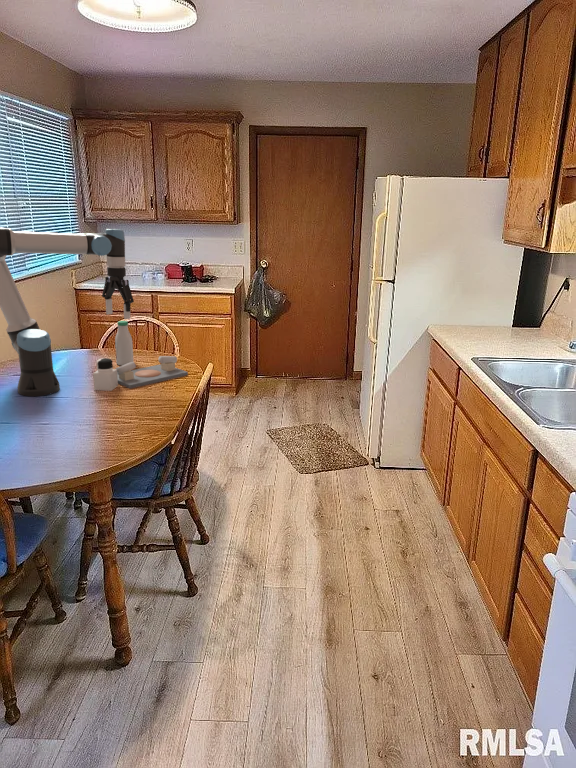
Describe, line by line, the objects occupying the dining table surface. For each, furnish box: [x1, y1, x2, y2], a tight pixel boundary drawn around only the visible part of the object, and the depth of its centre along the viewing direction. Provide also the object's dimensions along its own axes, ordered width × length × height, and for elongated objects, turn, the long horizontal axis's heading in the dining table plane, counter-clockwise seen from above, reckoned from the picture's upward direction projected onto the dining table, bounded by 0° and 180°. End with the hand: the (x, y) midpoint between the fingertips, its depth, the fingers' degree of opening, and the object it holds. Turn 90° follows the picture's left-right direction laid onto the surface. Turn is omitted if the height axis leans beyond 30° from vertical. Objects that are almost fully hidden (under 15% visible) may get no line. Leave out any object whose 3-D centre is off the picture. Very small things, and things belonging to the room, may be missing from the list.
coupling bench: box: [115, 355, 189, 390], centre depth 239 cm, size 29×18×8 cm, turn 137°
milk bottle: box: [114, 320, 134, 366], centre depth 257 cm, size 8×8×20 cm
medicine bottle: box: [92, 357, 119, 392], centre depth 223 cm, size 7×7×12 cm
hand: (118, 316), depth 241 cm, fingers open, 13 cm apart
